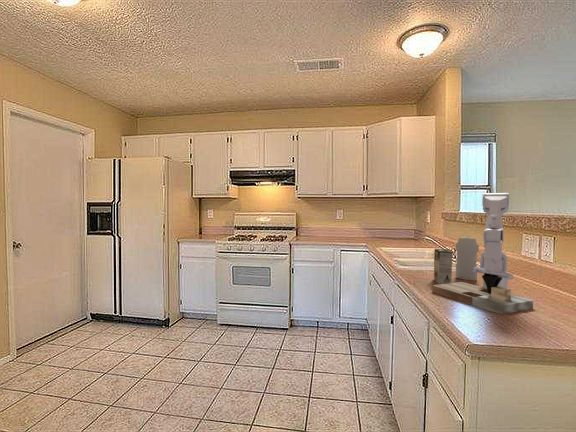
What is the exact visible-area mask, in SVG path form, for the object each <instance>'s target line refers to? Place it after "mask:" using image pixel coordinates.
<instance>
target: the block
mask: <svg viewBox="0 0 576 432" xmlns="http://www.w3.org/2000/svg"><path fill="white" fill-rule="evenodd" d="M511 295H512V288H505V287H501V286H497V287H491V298H495V299H498V300H502V301H505V300H511Z"/></svg>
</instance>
